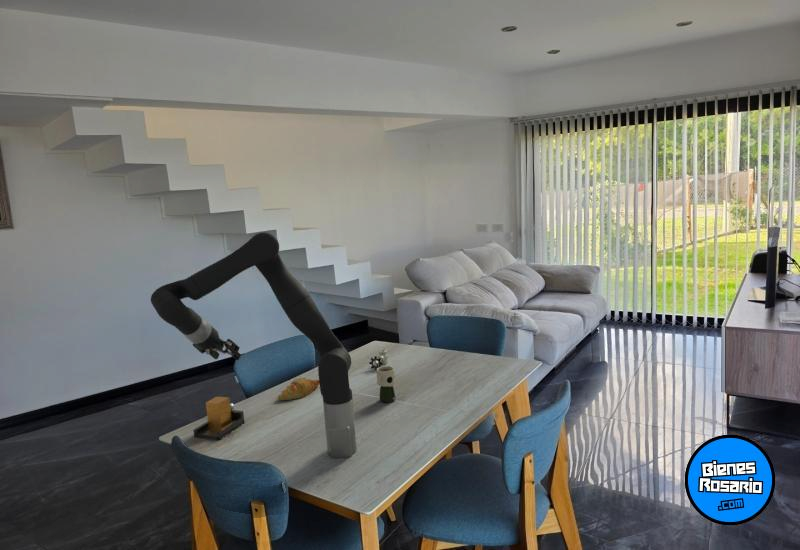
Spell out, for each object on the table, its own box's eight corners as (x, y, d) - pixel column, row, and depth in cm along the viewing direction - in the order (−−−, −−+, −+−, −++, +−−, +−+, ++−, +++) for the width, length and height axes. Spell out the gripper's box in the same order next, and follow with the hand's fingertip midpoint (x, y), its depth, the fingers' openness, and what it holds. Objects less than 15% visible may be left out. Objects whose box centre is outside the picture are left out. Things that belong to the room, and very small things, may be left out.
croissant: (283, 412, 220) (287, 397, 216) (269, 396, 225) (272, 381, 221) (323, 394, 235) (327, 380, 232) (309, 380, 240) (313, 366, 237)
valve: (378, 362, 266) (369, 370, 255) (377, 349, 265) (368, 356, 254) (391, 362, 264) (382, 370, 252) (390, 349, 263) (381, 356, 251)
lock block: (221, 430, 193) (218, 403, 192) (208, 429, 195) (205, 402, 194) (232, 423, 199) (229, 397, 198) (220, 422, 201) (217, 396, 200)
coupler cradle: (219, 440, 189) (217, 420, 188) (194, 436, 192) (191, 417, 191) (246, 422, 202) (244, 403, 201) (221, 419, 206) (219, 401, 205)
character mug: (387, 406, 209) (385, 374, 207) (372, 403, 213) (369, 371, 211) (402, 397, 218) (400, 365, 216) (387, 394, 222) (385, 363, 220)
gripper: (223, 322, 168) (250, 347, 180) (186, 321, 173) (214, 346, 185) (214, 343, 164) (242, 368, 176) (176, 342, 169) (206, 366, 181)
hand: (228, 357), depth 181 cm, fingers open, 8 cm apart
